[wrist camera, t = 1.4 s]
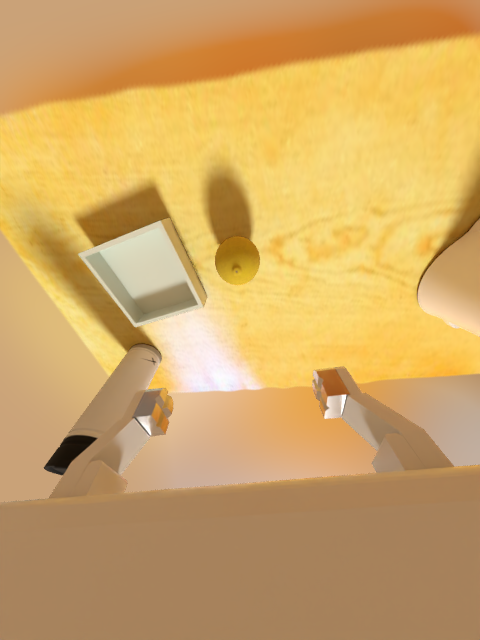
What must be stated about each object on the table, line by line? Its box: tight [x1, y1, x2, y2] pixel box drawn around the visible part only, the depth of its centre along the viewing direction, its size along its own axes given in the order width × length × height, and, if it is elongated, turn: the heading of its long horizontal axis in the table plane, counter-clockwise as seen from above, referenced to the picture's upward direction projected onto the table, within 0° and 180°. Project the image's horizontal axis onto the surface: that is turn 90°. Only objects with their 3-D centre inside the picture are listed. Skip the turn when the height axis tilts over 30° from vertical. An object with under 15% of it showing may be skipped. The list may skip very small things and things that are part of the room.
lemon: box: [215, 236, 260, 285], centre depth 23 cm, size 6×6×8 cm
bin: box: [78, 218, 207, 327], centre depth 27 cm, size 12×12×3 cm
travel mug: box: [44, 344, 162, 475], centre depth 30 cm, size 6×7×20 cm
